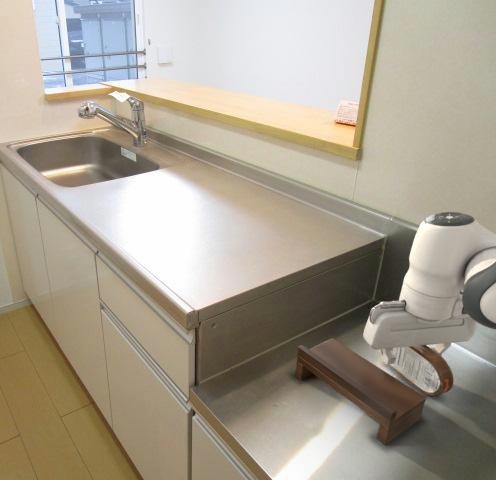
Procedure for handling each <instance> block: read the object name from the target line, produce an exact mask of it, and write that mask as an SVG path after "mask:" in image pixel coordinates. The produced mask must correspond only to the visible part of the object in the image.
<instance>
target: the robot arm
mask: <svg viewBox="0 0 496 480" xmlns="http://www.w3.org/2000/svg"><path fill="white" fill-rule="evenodd" d="M408 260H409V267H408V269H407V272H406V273H405V275H404V278H403V281H402V286H401V290H400V293H399V298H398V300H392V301H379V303H378V304H377V305H375V306H374V307H372V308H371V309H370V312H369V316H368V319H367V322H366V323H365V326H364V329H363V334H362V337H363V339H364V340H365V341H366V343H367V344H368V345H369V347H371V349H372V350H381V349H382V351H383V355H382V357H381V358H382V362H383V363H384V364H385V365H386V366H387V365H388V366H389V364H394V363H395V362H394V361H395V359H396V357H395V356H394V355H393V354H392V352H389V351H393V348H398V347H409V346H421V345H427V346H431V345H433V347H430V348H431V349H432V350H434V351H435V352H437V353H438V354H439V355H441V356H442V357H443V354H444V353H445V352H446V351H447V350H448V349H449V348H450V347H451V346H452V343H453V344H454V343H466V342H469V341H471V339H472V338H473V337H474V336H475V333H476V331H477V327H478V324H479V325H482V326H483V327H486V328H489V329H491V330H495V331H496V233H495V232H493V231H491V230H490V229H488V228H486V227H485V226H484V225H482V224H481V223H480V222H479V221H478V220H477V219H476V218H475V217H474V216H472V215H470V214H467V213H463V212H457V211H444V212H443V211H442V212H437V213H433V214H431V215H428V216H427V217H426V218H425V219H423V220H422V222H420V224H419V226H418V228H417V230H416V233H415V236H414V239H413V241H412V245H411V248H410V253H409V256H408Z"/></svg>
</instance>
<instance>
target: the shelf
mask: <svg viewBox="0 0 496 480" xmlns="http://www.w3.org/2000/svg"><path fill="white" fill-rule="evenodd" d="M294 373H295V375H294V376H295V377H296V378H298V379H299V380H300V381H302V380H304V379H305V378H308V377H310V376H312V375H315V376H316V377H317V378H318V379H320V380H321V381H322V382H324V383H325V384H326V385H328V386H329V387H330V388H332V389H333V390H335V391H336V392H337V393H339V394H340V395H342V396H343V397H344V398H346V399H347V400H348V401H350V402H351V403H352V404H354V405H355V406H356V407H358V408H359V409H360V410H362V411H363V412H365V413H366V414H367V415H368V416H370V417H371V418H373V420H375V421H376V422H378V423H379V426H378V430H377V435H376V440H377V441H379V442H380V444H382V445H384V446H385V445H387V444H389V443H391V442H392V440H394V439H396V438H397V437H398V436H399V435H401V434H402V433H404V432H405V431H406V430H408V429H409V428H411V427H412V426H414V425H415V424H416V423H418V422H419V421H420V420H421V418H422V415H423V411H424V408H425V403H426V399H427V397H426V396H424V395H423V394H421V393H420V392H418V391H417V390H415V389H413V388H412V387H410V386H409V385H407V384H405V383H404V382H403V381H400V380H399V379H398V378H396V377H394V376H393V375H391V374H390V373H388V372H386V371H385V370H384V369H382V368H380V366H377V365H376V364H374V363H372V362H371V361H369V360H368V359H367V358H364V357H362V356H361V355H360V354H358V353H356V352H355V351H353V350H352V349H350V348H349V347H347V346H345V345H344V344H343V343H340V342H339V341H337V340H336V339H334V337H331V338H330V339H328V340H326V341H325V340H324V342H321V343H319V344H318V345H315V346H314V347H311V348H308V347H307V346H306V345H303V344H302V345H300V346H298V348H297V356H296V363H295V372H294Z"/></svg>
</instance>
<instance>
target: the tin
mask: <svg viewBox="0 0 496 480" xmlns="http://www.w3.org/2000/svg"><path fill="white" fill-rule="evenodd" d="M431 348H432V347H430V346H429V345H421V346H409V347H398V348H393V351H389V352H392V354H393V355H394V356H395V357H396V359H395V361H394V362H395V363H394V364H388V366H389V367H391V368H392V369H393V370H394V371H395V372H397V373H398V374H399V375H400V376H402V377H403V378H404V379H405V380H406V381H408V382H409V383H410V384H412V386H414V387H415V388H416V389H417V390H418V391H420V392H421V393H423V394H425V395H427V396H430V397H435V396H440V395H442V394H445V393H448V392H450V391H451V390H452V389H453V386H454V380H455V379H454V375H453V371H452V369H451V366H450V365H449V364H448V362H447V360H446V359H445V358H444V357H443V355H442V356H441V355H439V354H438V353H437V352H435V351H434V350H432V349H431ZM380 352H381V355H382V356H383V351H382V349H380Z"/></svg>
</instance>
